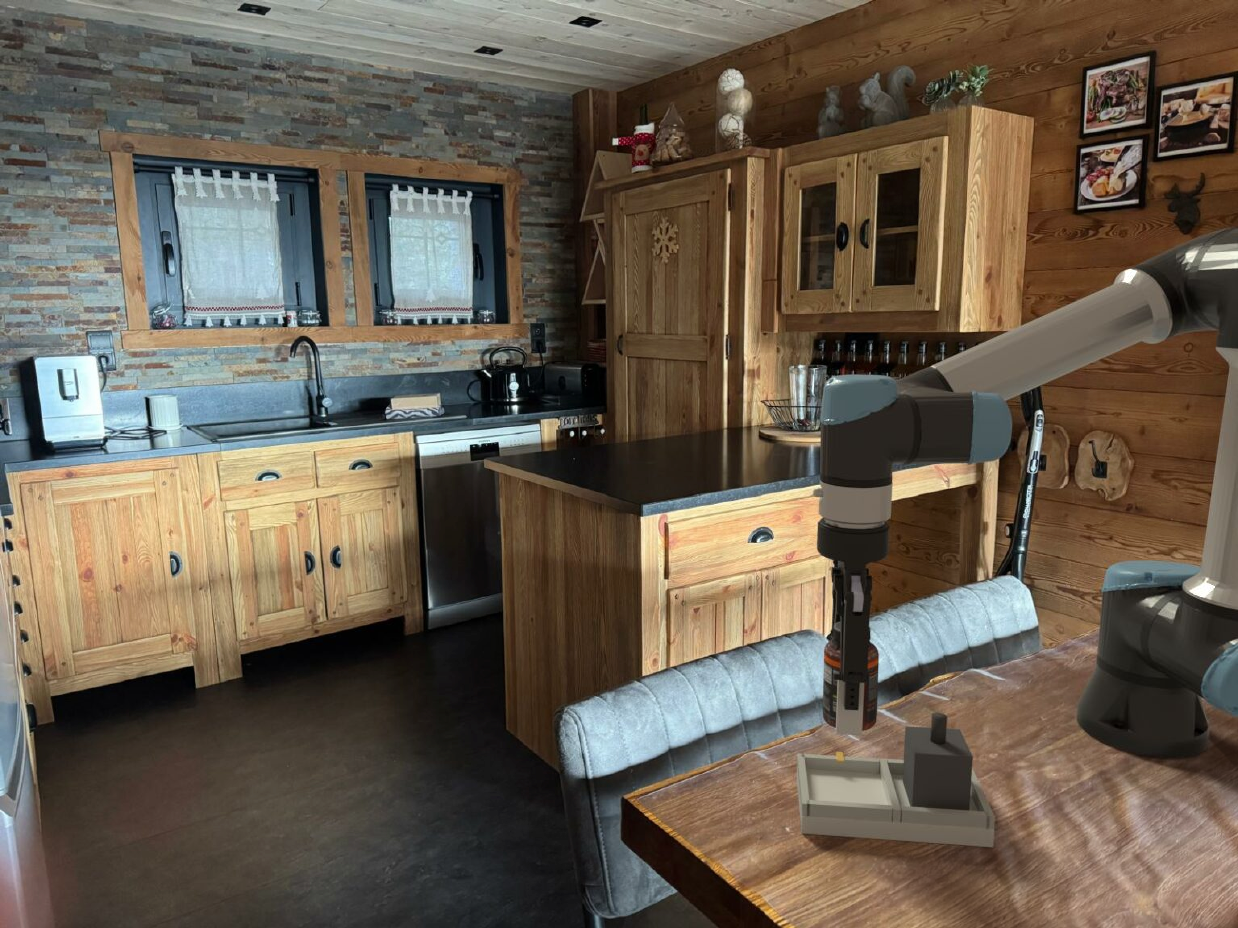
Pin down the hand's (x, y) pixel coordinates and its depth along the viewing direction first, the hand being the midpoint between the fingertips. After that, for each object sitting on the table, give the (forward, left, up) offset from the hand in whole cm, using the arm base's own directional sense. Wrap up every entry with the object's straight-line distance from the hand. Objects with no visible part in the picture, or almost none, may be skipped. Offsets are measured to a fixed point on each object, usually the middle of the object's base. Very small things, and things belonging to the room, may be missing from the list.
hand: (845, 718), depth 98 cm
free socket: (0, 0, -9) cm, 9 cm away
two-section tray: (-5, 0, -11) cm, 12 cm away
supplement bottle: (0, 0, -1) cm, 1 cm away
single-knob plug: (-10, 0, -9) cm, 14 cm away
